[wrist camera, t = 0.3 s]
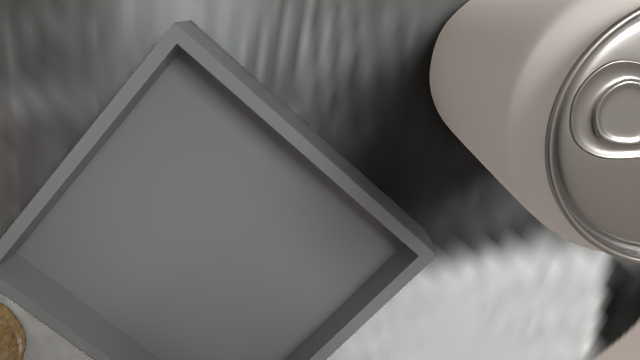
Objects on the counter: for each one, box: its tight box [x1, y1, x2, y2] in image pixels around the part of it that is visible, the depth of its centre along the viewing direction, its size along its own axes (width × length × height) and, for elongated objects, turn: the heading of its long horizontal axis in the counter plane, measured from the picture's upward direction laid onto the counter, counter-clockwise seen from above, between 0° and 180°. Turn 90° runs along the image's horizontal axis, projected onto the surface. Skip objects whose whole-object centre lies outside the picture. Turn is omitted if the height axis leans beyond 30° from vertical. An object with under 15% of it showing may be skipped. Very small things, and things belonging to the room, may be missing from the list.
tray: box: [0, 20, 437, 360], centre depth 24 cm, size 13×13×2 cm
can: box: [429, 0, 640, 264], centre depth 17 cm, size 6×6×12 cm
